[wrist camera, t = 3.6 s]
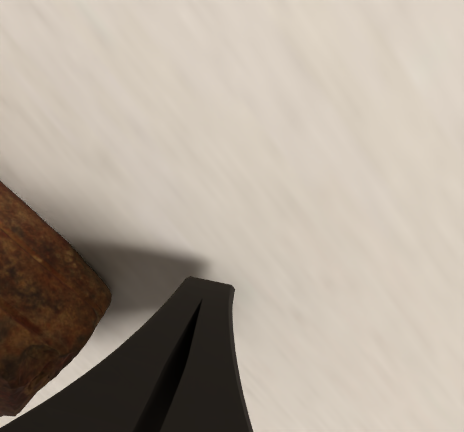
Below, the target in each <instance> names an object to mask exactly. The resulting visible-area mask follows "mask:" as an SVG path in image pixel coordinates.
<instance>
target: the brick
mask: <svg viewBox="0 0 464 432" xmlns="http://www.w3.org/2000/svg"><path fill="white" fill-rule="evenodd" d="M111 297H112V295H111V292H110V290H109V289H108V287H107V286H106V285H105V284H104V282H103V281H102V280H101V279H100V278H99V277H98V275H97V274H96V273H95V272H94V271H93V270H92V269H91V268H90V267H89V266H88V265H87V264H86V262H85V261H84V260H83V259H82V257H81V256H80V255H79V254H78V253H77V252H76V251H75V250H74V249H73V248H72V246H71V245H70V244H69V243H68V242H67V241H66V240H65V239H64V238H63V237H61V236H60V235H59V234H58V233H57V232H56V231H55V230H54V229H52V228H51V227H50V226H49V225H48V224H47V223H46V222H45V221H44V220H42V219H41V218H40V217H39V216H38V215H37V214H36V213H35V212H34V211H33V210H32V209H31V208H30V207H29V206H28V205H27V204H25V203H24V202H23V201H22V200H21V199H20V198H19V197H18V196H17V195H15V194H14V193H13V192H12V191H11V190H10V189H9V188H7V187H6V186H5V185H4V184H3V183H2V182H1V181H0V417H2V416H3V415H4V416H16V415H17V414H18V413H20V412H21V410H22V409H23V408H24V407H25V406H26V405H27V403H28V402H29V401H30V400H31V399H32V397H33V396H34V395H35V394H36V393H37V391H39V390H40V389H41V388H43V387H44V386H45V385H46V384H47V383H48V382H49V381H51V380H52V379H53V378H55V377H56V376H57V375H58V374H59V373H60V371H61V370H62V369H63V368H64V367H66V366H67V365H68V364H69V363H70V362H71V361H72V360H73V358H74V357H76V356H77V355H78V353H79V352H80V351H81V349H82V348H83V347H84V346H85V344H86V343H87V341H88V340H89V339H90V337H91V335H92V334H93V332H94V330H95V328H96V326H97V324H98V323H99V321H100V320H101V318H102V317H103V316H104V314H105V311H106V310H107V308H108V307H109V306H110V303H111Z"/></svg>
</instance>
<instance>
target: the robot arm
mask: <svg viewBox="0 0 464 432" xmlns="http://www.w3.org/2000/svg"><path fill="white" fill-rule="evenodd" d="M234 292H235V289H234V287H233V286H232V285H229V284H224V283H219V282H215V281H210V280H205V279H200V278H195V277H191V276H190V277H188V278H186V279H185V281H184V282H183V283H182V284H181V286H180V287H179V288H178V289H177V290H176V291H175V293H174V294H173V295H172V296H171V297H170V298H169V299H168V300H167V302H166V303H165V304H164V305H163V306H162V307H161V308H160V309H159V310H158V311H157V312H156V313H155V314H154V315H153V316H152V317H151V318H150V319H149V320H148V321H147V322H146V323H145V324H144V325H143V326H142V327H141V328H140V329H139V330H138V331H136V332H135V333H134V334H133V335H132V336H131V337H130V338H129V339H127V340H126V341H125V342H124V343H123V344H122V345H121V346H120V347H118V348H117V349H116V350H115V351H114V352H112V353H111V354H110V355H109V356H108V357H106V358H105V359H104V360H103V361H101V362H100V363H99V364H97V365H96V366H95V367H93V368H92V369H91V370H90V371H88V372H87V373H86V374H84V375H83V376H81V377H80V378H79V379H77V380H76V381H74V382H73V383H71V384H70V385H69V386H67V387H66V388H64V389H63V390H61V391H60V392H58V393H57V394H55V395H54V396H52V397H51V398H49V399H48V400H46V401H45V402H43V403H41V404H40V405H38V406H36V407H35V408H33V409H31V410H30V411H28V412H26V413H25V414H23V415H21V416H20V417H18V418H16V419H15V420H13V421H11V422H10V423H8V424H6V425H5V426H3V427H1V428H0V432H253V429H252V426H251V422H250V419H249V415H248V411H247V407H246V403H245V399H244V395H243V390H242V386H241V381H240V376H239V370H238V365H237V359H236V352H235V343H234V334H233V319H232V305H233V298H234Z"/></svg>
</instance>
